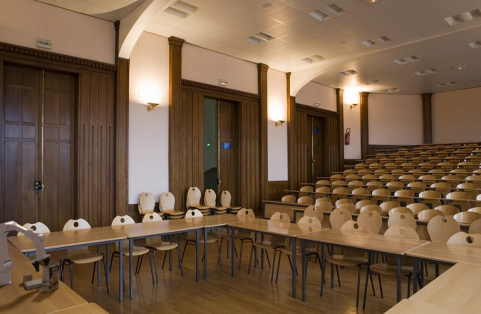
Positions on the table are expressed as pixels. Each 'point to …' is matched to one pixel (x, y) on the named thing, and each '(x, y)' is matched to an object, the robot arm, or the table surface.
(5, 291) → the table surface
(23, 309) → the table surface
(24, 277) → the walnut block
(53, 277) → the coffee box
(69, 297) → the table surface
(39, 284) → the grey box
